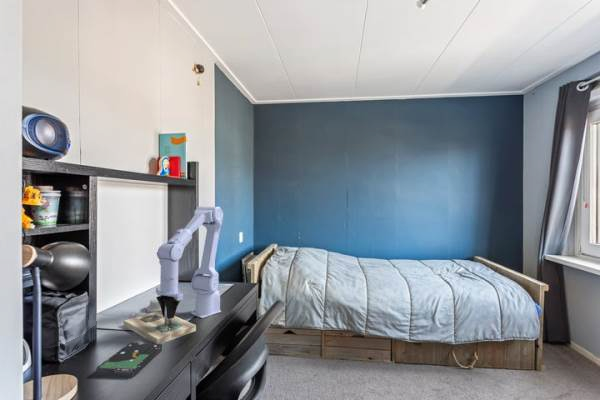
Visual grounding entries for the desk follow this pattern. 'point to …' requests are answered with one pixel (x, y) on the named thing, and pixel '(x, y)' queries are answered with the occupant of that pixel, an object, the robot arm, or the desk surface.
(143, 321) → the dock board
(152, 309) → the mechanical component
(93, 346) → the desk surface
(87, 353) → the desk surface
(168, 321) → the steel pin
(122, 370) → the disk drive
